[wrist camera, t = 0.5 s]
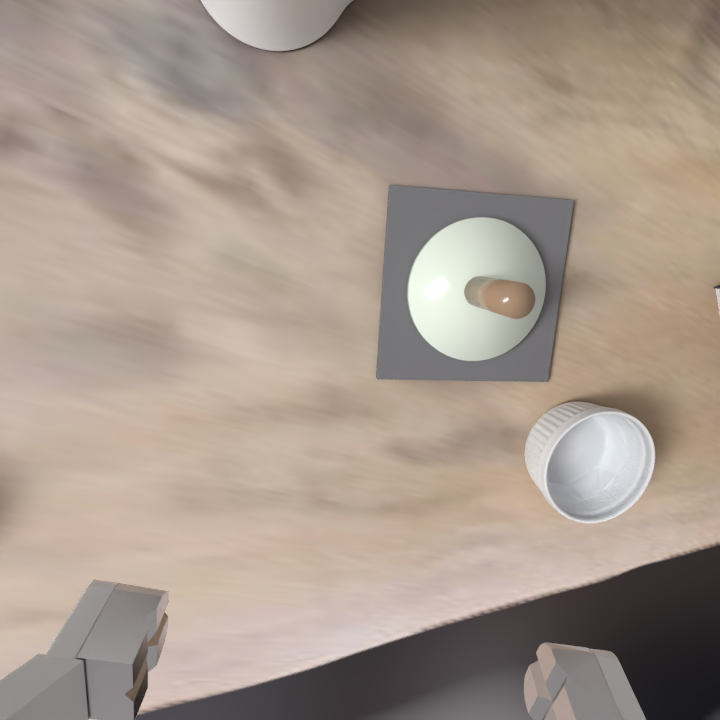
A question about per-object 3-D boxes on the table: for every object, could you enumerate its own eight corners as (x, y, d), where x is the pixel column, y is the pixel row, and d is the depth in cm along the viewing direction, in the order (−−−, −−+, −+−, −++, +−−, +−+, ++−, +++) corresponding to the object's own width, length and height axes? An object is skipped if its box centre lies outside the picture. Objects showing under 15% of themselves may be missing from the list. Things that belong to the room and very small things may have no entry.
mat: (388, 185, 51) (390, 185, 50) (570, 200, 54) (574, 200, 54) (376, 377, 55) (377, 379, 55) (545, 380, 58) (547, 381, 58)
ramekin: (600, 374, 60) (641, 390, 53) (627, 466, 63) (669, 492, 56) (500, 420, 59) (528, 443, 52) (533, 511, 62) (564, 543, 56)
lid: (412, 212, 51) (444, 205, 41) (548, 222, 54) (609, 218, 44) (401, 357, 54) (428, 382, 45) (530, 360, 57) (583, 384, 47)
